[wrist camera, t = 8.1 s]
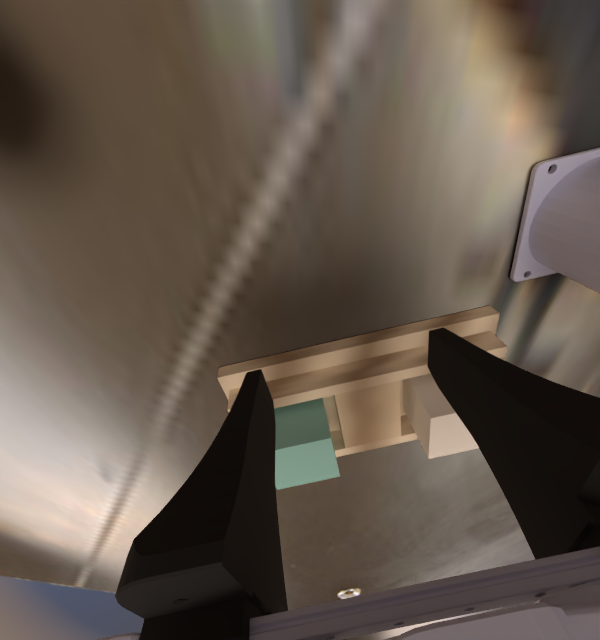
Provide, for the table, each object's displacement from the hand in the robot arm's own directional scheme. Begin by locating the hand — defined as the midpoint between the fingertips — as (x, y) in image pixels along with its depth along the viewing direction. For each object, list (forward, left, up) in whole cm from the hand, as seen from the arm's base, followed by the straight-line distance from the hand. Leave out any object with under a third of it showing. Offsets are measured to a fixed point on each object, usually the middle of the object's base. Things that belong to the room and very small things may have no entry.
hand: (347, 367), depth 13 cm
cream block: (-8, +12, -8) cm, 17 cm away
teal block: (+4, +12, -8) cm, 15 cm away
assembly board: (-2, +12, -9) cm, 15 cm away
